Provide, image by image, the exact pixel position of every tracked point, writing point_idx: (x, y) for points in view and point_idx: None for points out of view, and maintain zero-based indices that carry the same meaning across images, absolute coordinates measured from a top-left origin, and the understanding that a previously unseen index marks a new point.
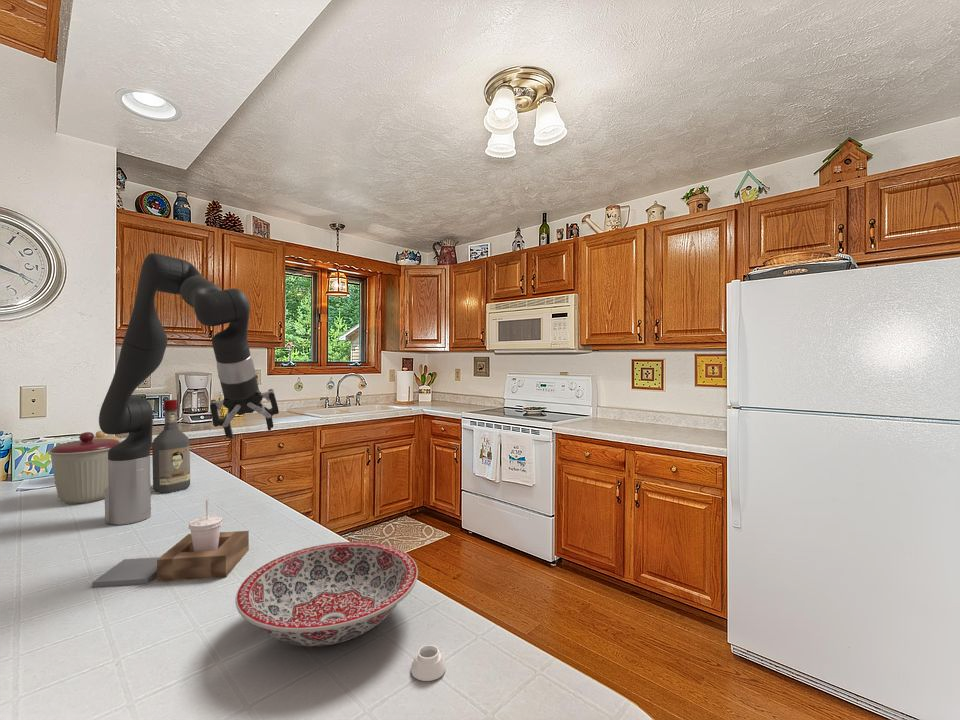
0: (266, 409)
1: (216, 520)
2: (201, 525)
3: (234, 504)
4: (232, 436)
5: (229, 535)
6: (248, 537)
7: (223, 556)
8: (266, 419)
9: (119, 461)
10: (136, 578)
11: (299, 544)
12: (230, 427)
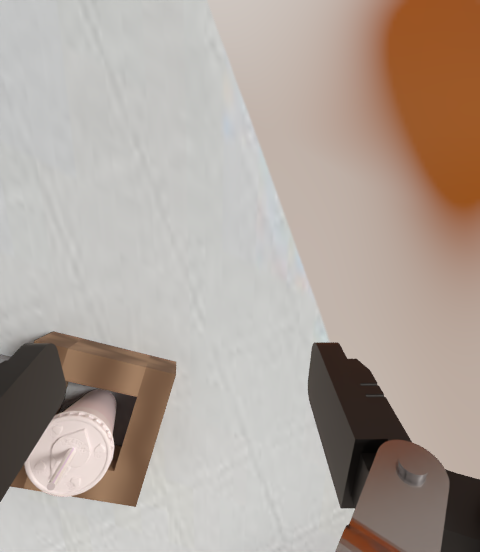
0: (416, 535)
1: (97, 461)
2: (61, 489)
3: (127, 14)
4: (56, 404)
5: (134, 388)
6: (175, 370)
7: (131, 505)
8: (344, 500)
9: None
10: None
11: (271, 372)
12: (4, 467)
